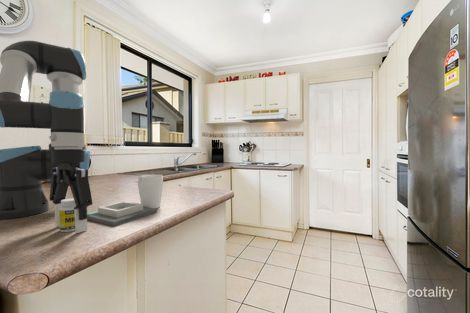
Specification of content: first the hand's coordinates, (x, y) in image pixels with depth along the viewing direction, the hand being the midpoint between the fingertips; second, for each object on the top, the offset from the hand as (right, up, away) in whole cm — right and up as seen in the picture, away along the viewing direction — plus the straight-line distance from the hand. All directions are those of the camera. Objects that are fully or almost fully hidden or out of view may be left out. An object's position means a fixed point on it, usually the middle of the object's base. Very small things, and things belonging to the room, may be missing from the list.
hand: (70, 228), depth 64 cm
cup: (+14, +1, +23) cm, 27 cm away
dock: (+8, 0, +13) cm, 15 cm away
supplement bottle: (0, 0, 0) cm, 0 cm away
